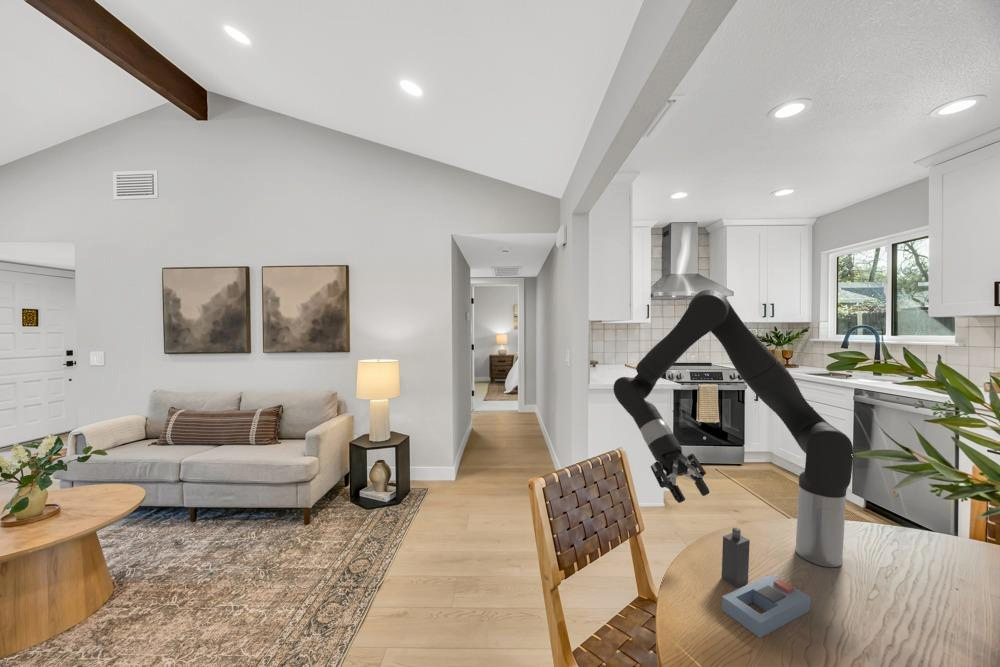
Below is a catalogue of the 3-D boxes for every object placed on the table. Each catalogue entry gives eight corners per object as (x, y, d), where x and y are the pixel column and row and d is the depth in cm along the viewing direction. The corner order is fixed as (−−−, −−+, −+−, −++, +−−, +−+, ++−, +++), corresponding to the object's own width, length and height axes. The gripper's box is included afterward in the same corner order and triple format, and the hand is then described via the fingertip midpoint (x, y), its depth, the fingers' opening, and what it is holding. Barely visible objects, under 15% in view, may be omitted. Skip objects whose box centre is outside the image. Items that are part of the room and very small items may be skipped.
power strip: (770, 586, 93) (771, 570, 93) (810, 610, 86) (810, 593, 86) (721, 610, 86) (722, 592, 86) (759, 638, 79) (760, 619, 79)
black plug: (733, 572, 98) (734, 523, 97) (747, 582, 95) (749, 531, 94) (721, 577, 96) (723, 527, 95) (736, 587, 93) (738, 535, 92)
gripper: (647, 436, 108) (683, 498, 99) (687, 429, 114) (723, 486, 105) (632, 450, 114) (665, 509, 104) (671, 442, 120) (704, 498, 110)
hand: (694, 498), depth 105 cm, fingers open, 8 cm apart
